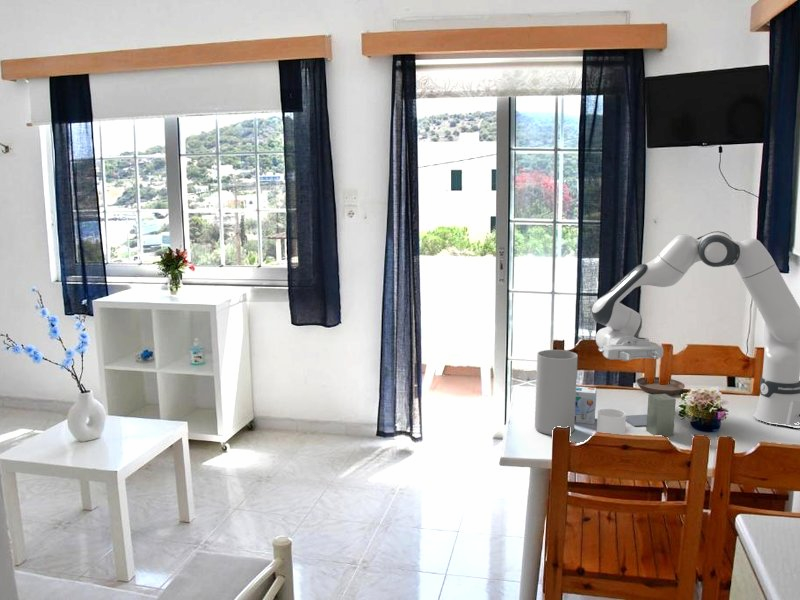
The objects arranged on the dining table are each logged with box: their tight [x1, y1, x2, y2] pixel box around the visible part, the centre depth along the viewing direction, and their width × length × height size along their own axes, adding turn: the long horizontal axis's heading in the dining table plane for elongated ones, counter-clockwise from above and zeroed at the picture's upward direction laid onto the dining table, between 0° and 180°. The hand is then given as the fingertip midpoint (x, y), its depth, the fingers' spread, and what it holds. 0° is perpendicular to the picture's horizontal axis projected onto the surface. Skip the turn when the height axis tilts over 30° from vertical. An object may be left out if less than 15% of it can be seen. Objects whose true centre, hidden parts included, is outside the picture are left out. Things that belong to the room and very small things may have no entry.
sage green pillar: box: [645, 393, 677, 437], centre depth 235 cm, size 6×6×12 cm
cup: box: [596, 408, 627, 436], centre depth 227 cm, size 8×12×10 cm
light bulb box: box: [575, 385, 597, 425], centre depth 248 cm, size 11×7×11 cm, turn 73°
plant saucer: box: [635, 376, 686, 396], centre depth 284 cm, size 18×18×3 cm
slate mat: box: [626, 413, 647, 428], centre depth 248 cm, size 10×10×1 cm
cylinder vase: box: [534, 349, 578, 436], centre depth 237 cm, size 12×12×25 cm
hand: (644, 357), depth 244 cm, fingers open, 8 cm apart
